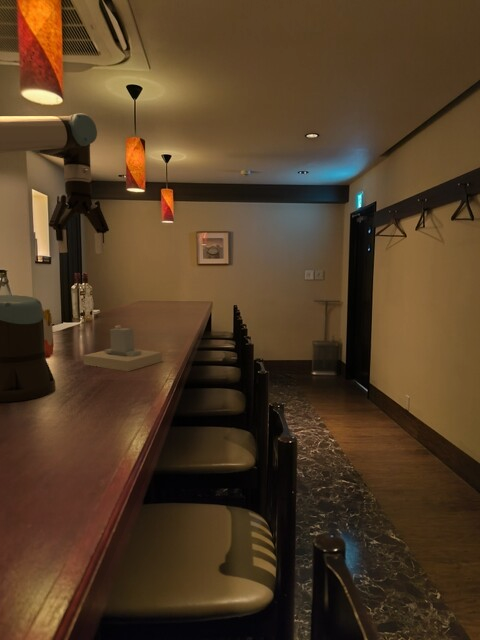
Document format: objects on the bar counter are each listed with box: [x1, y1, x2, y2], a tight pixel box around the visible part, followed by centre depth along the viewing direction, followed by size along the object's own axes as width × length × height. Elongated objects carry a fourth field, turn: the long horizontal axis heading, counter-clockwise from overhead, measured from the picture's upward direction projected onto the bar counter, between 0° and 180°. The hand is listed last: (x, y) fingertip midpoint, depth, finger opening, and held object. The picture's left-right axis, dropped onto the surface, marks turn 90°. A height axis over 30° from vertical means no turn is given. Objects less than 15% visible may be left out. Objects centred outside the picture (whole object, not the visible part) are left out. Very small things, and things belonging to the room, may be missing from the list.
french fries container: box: [42, 308, 55, 358], centre depth 147 cm, size 5×11×18 cm, turn 14°
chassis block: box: [83, 348, 163, 372], centre depth 134 cm, size 15×19×3 cm
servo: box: [104, 324, 141, 357], centre depth 134 cm, size 4×12×12 cm, turn 60°
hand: (82, 253), depth 130 cm, fingers open, 13 cm apart
